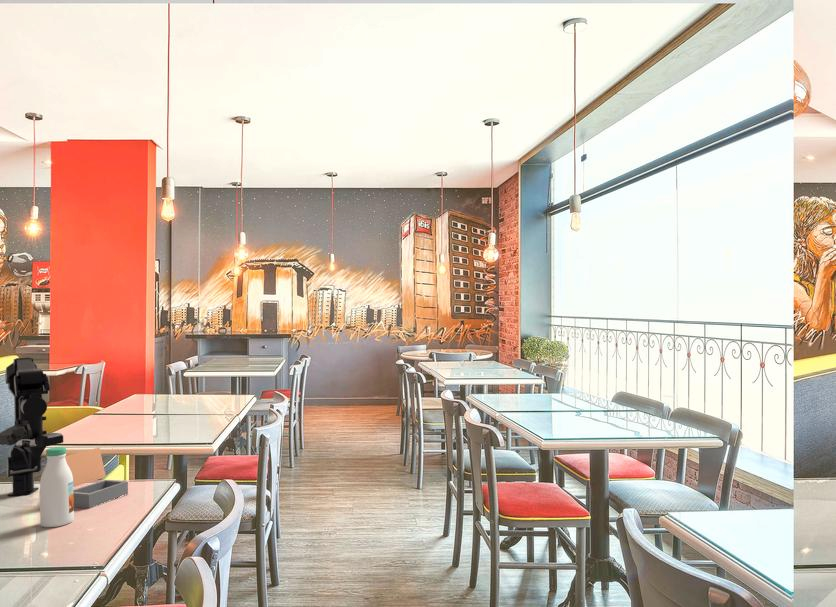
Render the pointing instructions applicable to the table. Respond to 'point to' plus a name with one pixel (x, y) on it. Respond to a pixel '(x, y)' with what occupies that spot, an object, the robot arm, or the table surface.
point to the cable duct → (99, 493)
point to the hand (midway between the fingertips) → (31, 468)
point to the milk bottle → (56, 490)
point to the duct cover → (86, 466)
